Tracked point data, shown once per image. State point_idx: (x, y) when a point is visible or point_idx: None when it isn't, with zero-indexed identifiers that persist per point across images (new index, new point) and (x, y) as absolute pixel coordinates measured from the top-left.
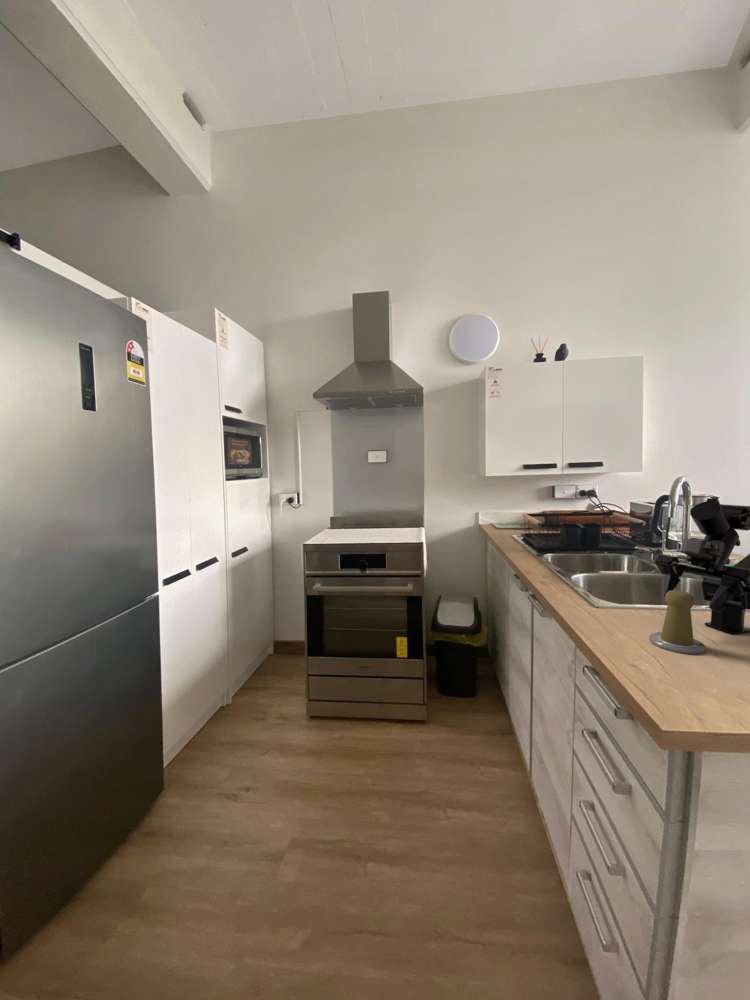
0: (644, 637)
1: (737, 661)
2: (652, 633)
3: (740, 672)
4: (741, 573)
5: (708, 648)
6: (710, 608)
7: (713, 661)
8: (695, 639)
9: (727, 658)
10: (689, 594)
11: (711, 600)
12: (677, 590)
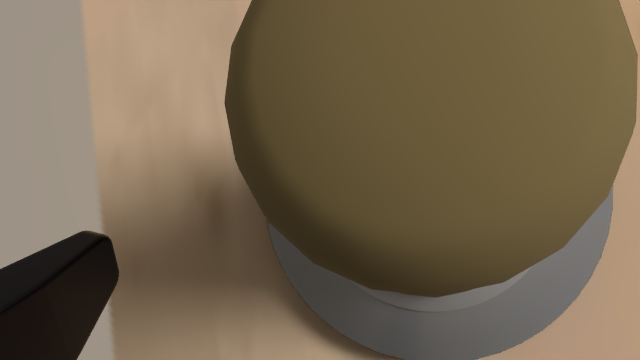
0: (636, 156)
1: (115, 193)
2: (610, 212)
3: (88, 40)
4: None
5: (267, 291)
6: (111, 258)
7: (205, 82)
8: (346, 336)
9: (159, 198)
10: (260, 67)
11: (42, 282)
12: (475, 104)
